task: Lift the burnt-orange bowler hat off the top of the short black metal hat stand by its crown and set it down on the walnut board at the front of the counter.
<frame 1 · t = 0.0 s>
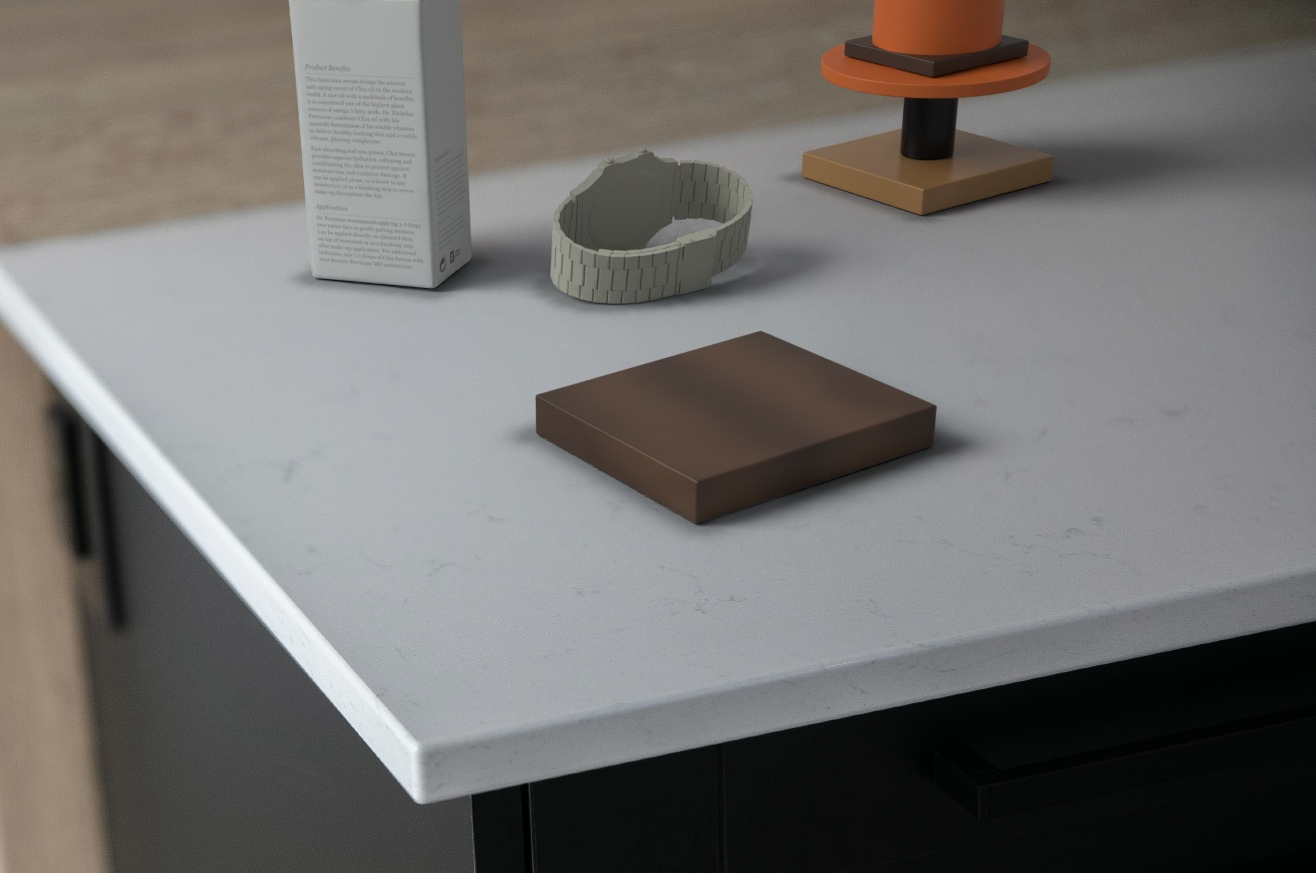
hat stand: (924, 179, 91), on the worktop
wristwatch: (652, 282, 82), on the worktop
shelf board: (730, 440, 67), on the worktop
hat: (933, 70, 89), point 5 cm above the worktop, touching hat stand
cosmetic box: (391, 274, 85), on the worktop
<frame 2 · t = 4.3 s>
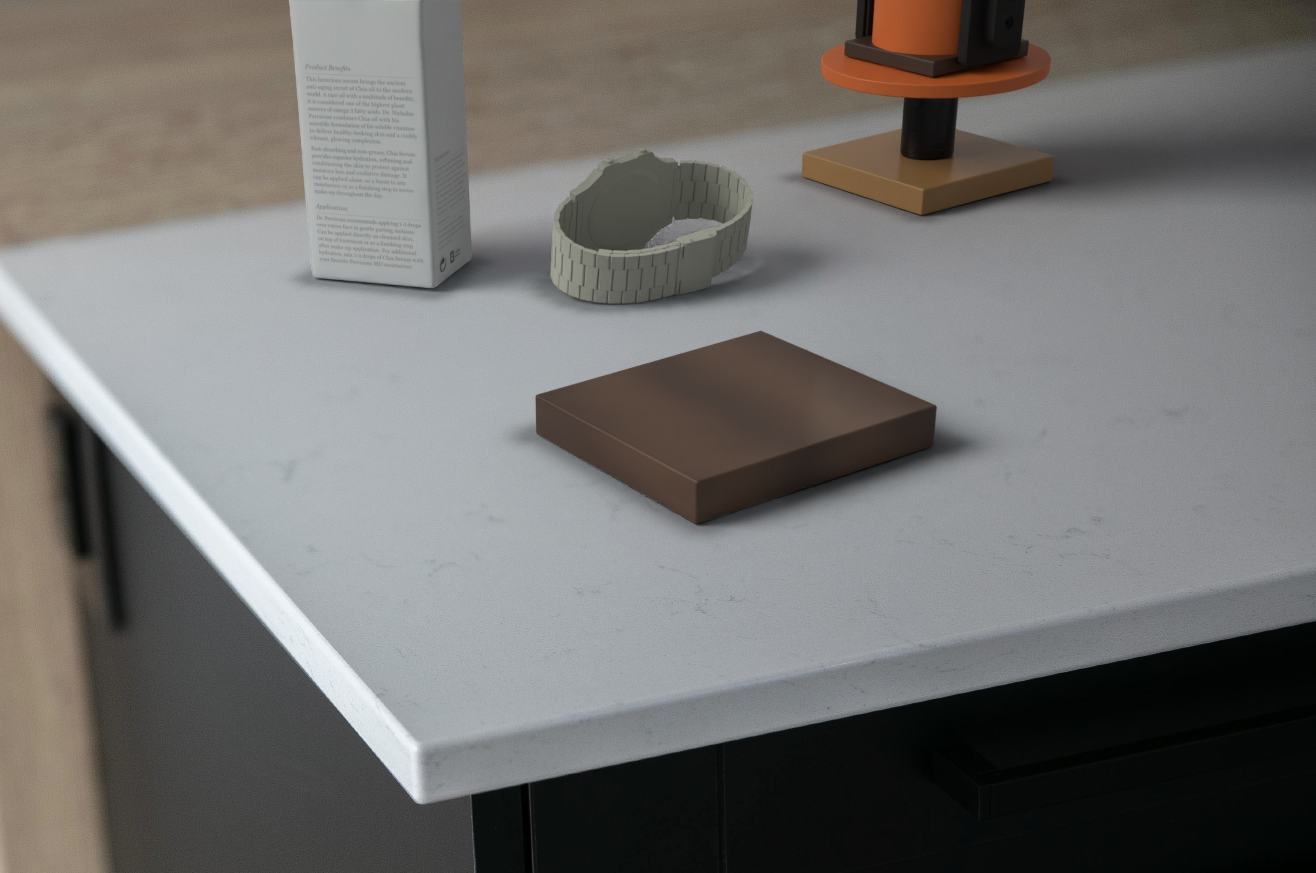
hand: (935, 45, 88), 6 cm above the worktop, tool pointing down, fingers closed on hat, 5 cm apart
hat: (933, 70, 89), point 5 cm above the worktop, touching gripper, hat stand
everything else where it was.
when the fingers open (3 cm above the worktop, at t = 13.7 s): hat stays where it is, resting on shelf board.
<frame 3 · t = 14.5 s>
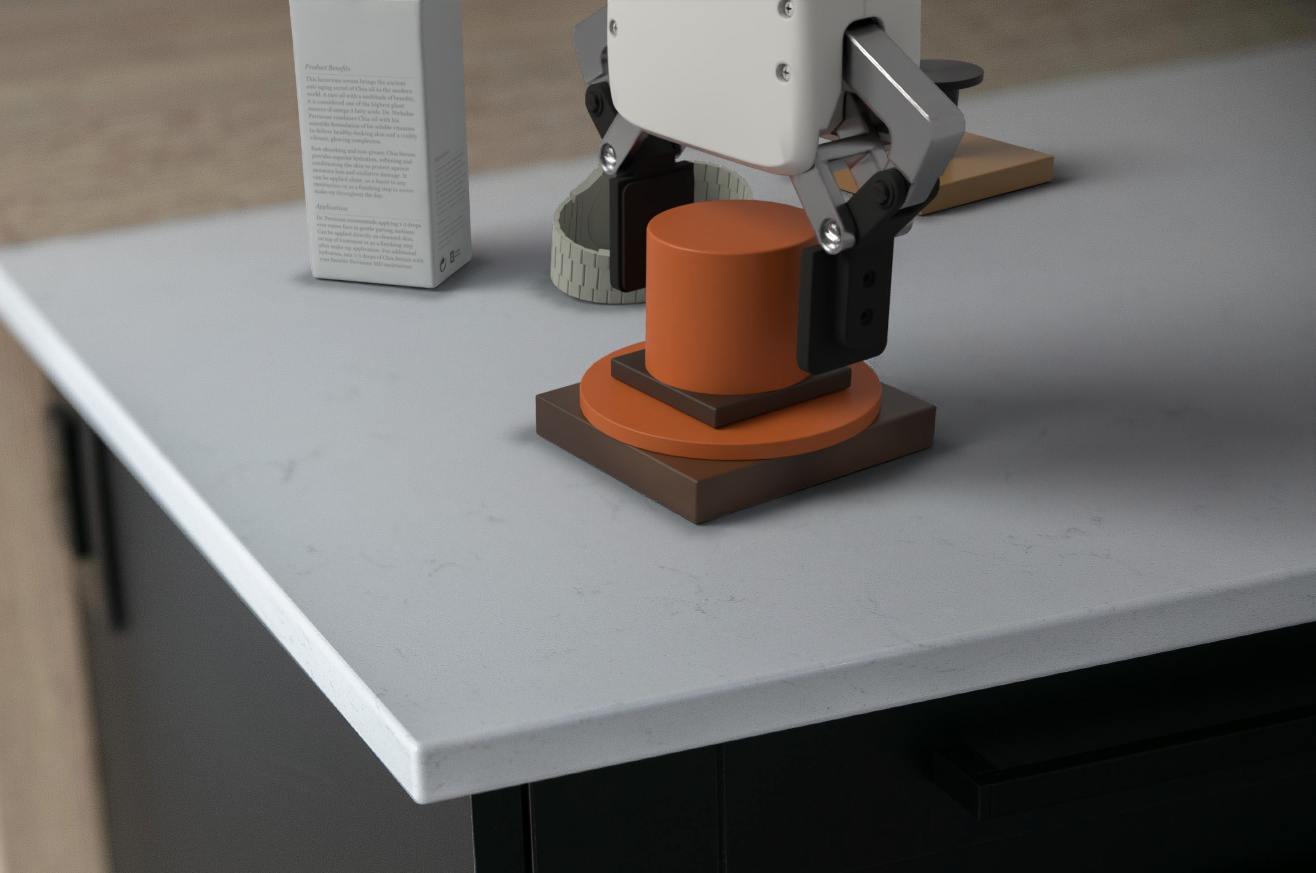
hand: (741, 320, 65), 4 cm above the worktop, tool pointing down, fingers open, 9 cm apart
hat: (728, 400, 66), point 1 cm above the worktop, touching shelf board
everything else where it was.
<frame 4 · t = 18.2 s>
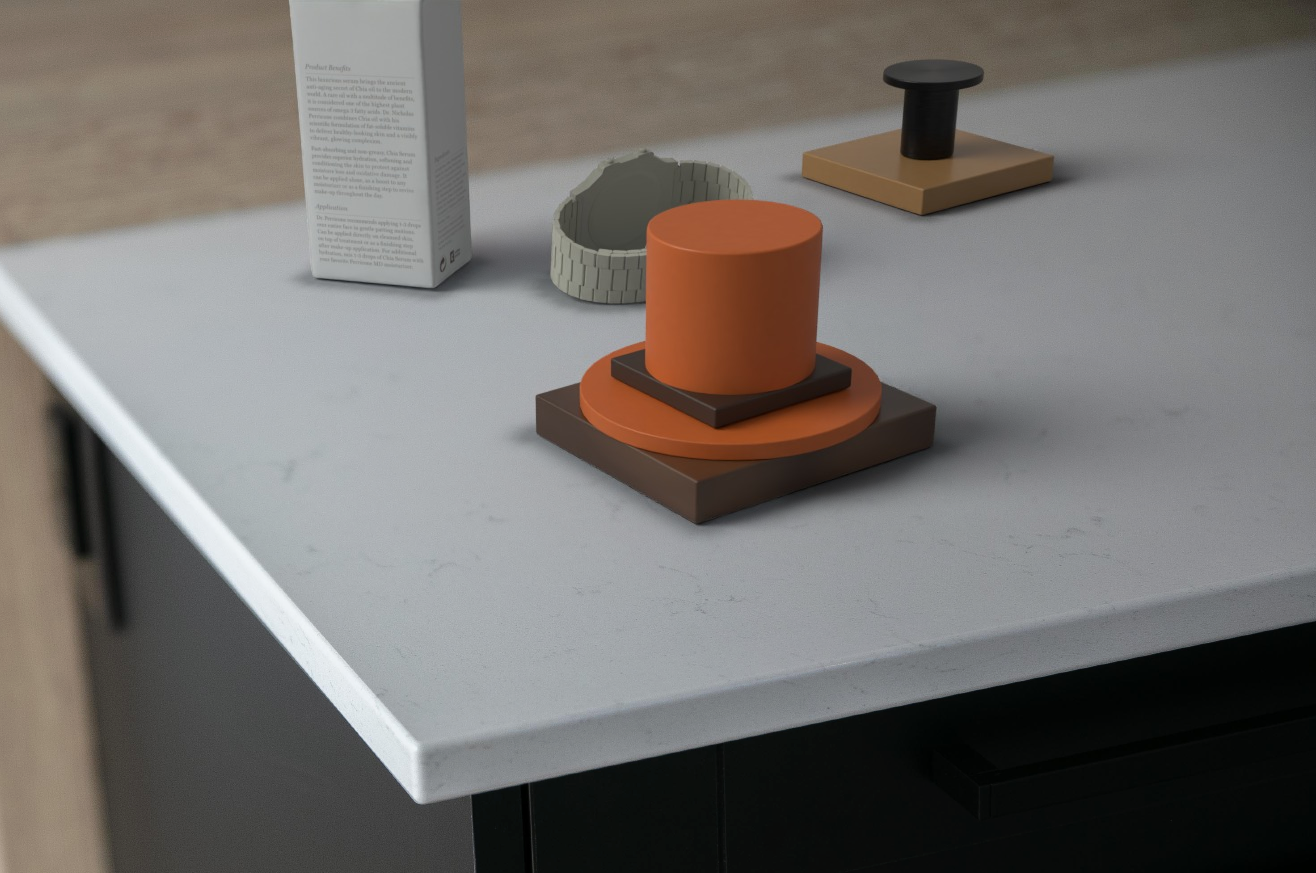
nothing on the worktop moved.
at the end: hat inside the target area on the shelf board (0.1 cm from its centre), point 1.5 cm above the shelf board's base; hat tilted 0° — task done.
